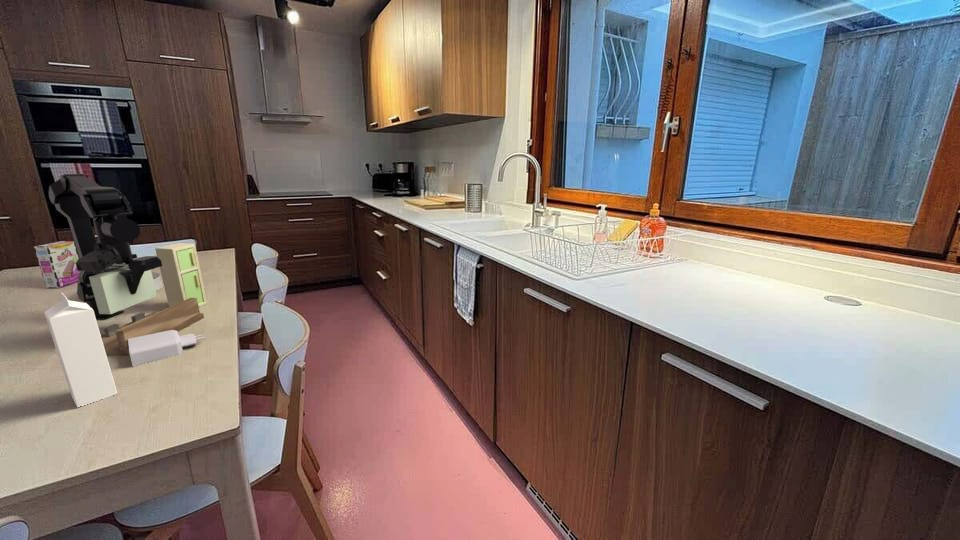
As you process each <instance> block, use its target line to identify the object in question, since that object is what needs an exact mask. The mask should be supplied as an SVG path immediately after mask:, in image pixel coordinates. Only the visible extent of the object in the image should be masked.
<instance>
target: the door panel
mask: <svg viewBox="0 0 960 540" xmlns="http://www.w3.org/2000/svg"><path fill="white" fill-rule="evenodd" d="M125 268H126V267H122V268H118V269H115V270H111V271H108V272H104V273H101V274H97V275H94V276H90V277H89V279H90V282H91V286H92V289H93V293H94V296H95V300H96V303H97V307H98V310H99V314H113V313H115V312H118V311H120V310H125V309H127V308H130V307H132V306H135V305H138V304H140V303H143V302H145V301H147V300H150V299H153V298H155V297H158V294H157V292H156V289H155V285H154V281H153V276H152V269H151V270H148V271H144V274H143V276H142V278H141V280H140V283H139V286H138V289H137V291H136V293H135V294H131V293H130V291H129V288H128V285H127V282H126V279H125V277H124V276H123V275H121V274H120V273H119V272H122V271H126V270H125Z"/></svg>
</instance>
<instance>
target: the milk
mask: <svg viewBox="0 0 960 540" xmlns="http://www.w3.org/2000/svg"><path fill="white" fill-rule="evenodd" d="M60 294H61V297H62V300H60V301H59V302H58V303H56V304H54V305H53V306H51V307H49V308H48V309H47V310H45V311H44V312H43V313H44V316H45V320H46V322H47V325H48V326H47V327H48V328H49V332H50V335H51V337H52V341H53V343H54V347H55V351H56V353H57V355H58V356H57V357H58V359H59V362H60V365H61V368H62V372H63V374H64V377H65V380H66V383H67V386H68V389H69V392H70V396H71V398H72V400H73V402H74V404H75V405H76V407H77V408H78V407H80V406H82V407H85V406H87V404H88V405H91V404H94V403H96V401H97V402H100V401H102V400H105V399H108V398H110V397H113V395H114V396H116V394H117V395H118V391H117V387H116V383H115V380H114V377H113V373H112V370H111V366H110V363H109V359H108V356H107V355H106V352H105V349H104V345H103V342H102V338H101V335H102V334H101V333H100V328H99V325H98V322H97V319H96V318H95V314H94V311H93V309H92V308H91V307H90V306H89V305H88V304H87V302H82V301H81V302H80V301H76V300H75V301H74V300H69V299H68V298H67V296H66V295H65V294H64V293H63V292H61V293H60ZM101 399H102V400H101ZM99 400H100V401H99ZM93 402H94V403H93ZM90 403H91V404H90ZM84 405H85V406H84ZM80 408H81V407H80Z"/></svg>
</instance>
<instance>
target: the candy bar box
mask: <svg viewBox="0 0 960 540" xmlns="http://www.w3.org/2000/svg"><path fill="white" fill-rule="evenodd" d="M33 249H34V252H35V255H36V258H37V261H38V265H39V267H40V271H41V274H42V279H43V281H44V285H45V288H46V289H61V288H64V287H68V286H70V285H73V284H76V283H79V279H78V275H79V273H80V271H79V270H77V267H76V262H77V260H78V259H79V254H78V251H77V248H76V244H75V241H74V240H73V241H72V240H62V241H56V242H55V241H54V242H50V243H46V244H39V245H36V246H33Z"/></svg>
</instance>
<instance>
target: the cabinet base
mask: <svg viewBox="0 0 960 540" xmlns="http://www.w3.org/2000/svg"><path fill="white" fill-rule="evenodd" d="M204 316H205V315H204V313H202V312H200V307H199V306H198V301H197V298H189V299H187V300H184V301H182V302H180V303H178V304H175V305H173V306H171V307H169V306H168V307H166V308H165V309H162V310H160V311H156V312H154V311H153V312H150V313H148V314H145V312H140V313H136V314H135V315H132V316H130V318H131V321H130V322H127V323H126V324H124V325H121V326H120V325H119V323H113V324H111V325H108V326H106V327H104V328H103V332H104V333H102V334H100V335H101V338H102V342H103V345H104V349H105V352H106V355H113V356H116V355H117V356H130V352H129V344H128V339H130V338H135V337H140V336H144V335H149V334H154V333H159V332H164V331H169V330H175V331H178V332H180V331H182V330H183V329H186V328H187V327H190V326H191V325H193V324H195V323H197V322H198V321H201V320H202V319H204V318H205V317H204Z"/></svg>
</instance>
